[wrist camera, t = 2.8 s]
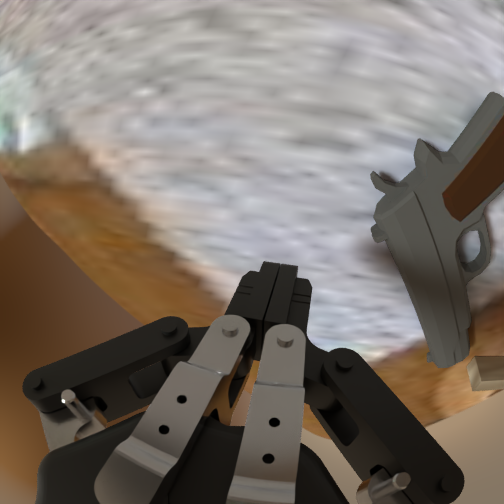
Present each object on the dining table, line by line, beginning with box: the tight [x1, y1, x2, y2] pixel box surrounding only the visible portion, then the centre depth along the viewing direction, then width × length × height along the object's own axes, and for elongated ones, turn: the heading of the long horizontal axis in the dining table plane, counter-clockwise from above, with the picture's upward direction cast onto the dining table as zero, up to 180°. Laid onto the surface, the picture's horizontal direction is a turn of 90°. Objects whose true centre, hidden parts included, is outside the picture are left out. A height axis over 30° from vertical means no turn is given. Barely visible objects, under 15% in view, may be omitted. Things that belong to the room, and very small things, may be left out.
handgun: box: [370, 92, 504, 368], centre depth 14 cm, size 3×18×12 cm
